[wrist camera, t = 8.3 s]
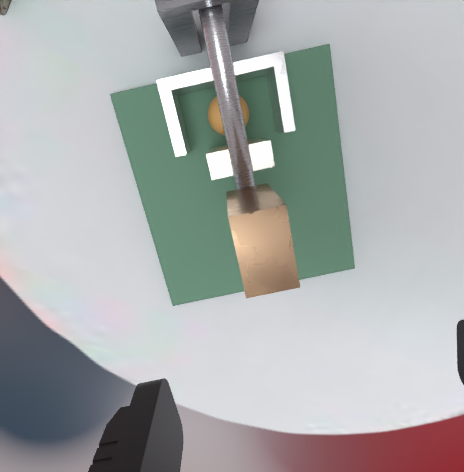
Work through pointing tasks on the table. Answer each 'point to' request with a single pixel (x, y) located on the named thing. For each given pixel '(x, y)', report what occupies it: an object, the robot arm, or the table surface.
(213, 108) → the ball
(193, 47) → the rod support
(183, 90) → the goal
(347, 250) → the pitch
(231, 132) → the rod
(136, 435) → the robot arm
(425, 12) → the table surface
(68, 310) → the table surface
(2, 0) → the coffee box
